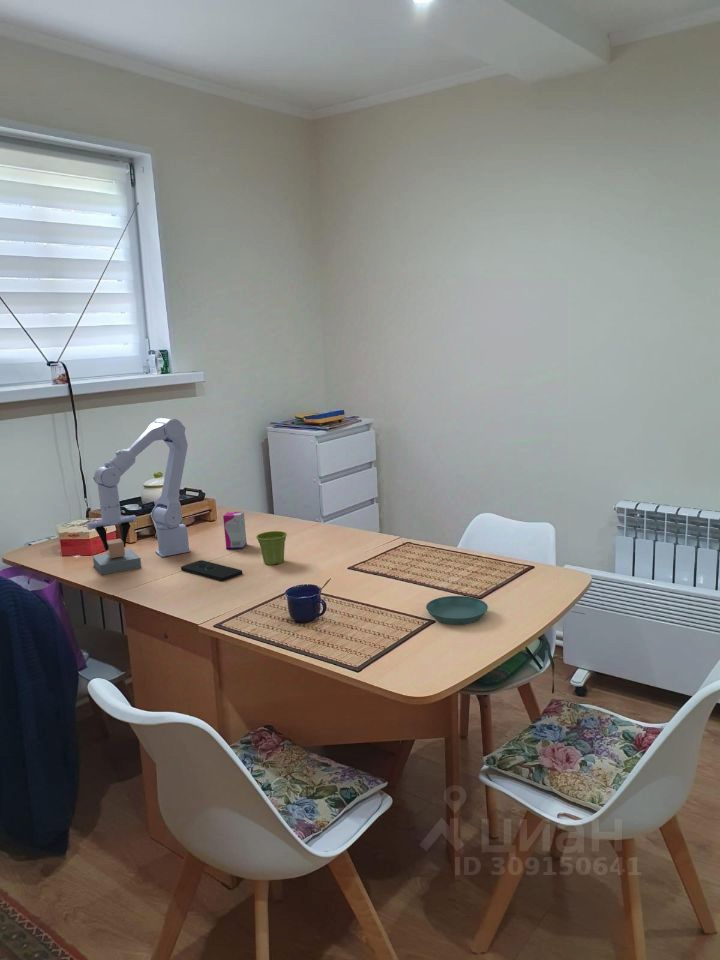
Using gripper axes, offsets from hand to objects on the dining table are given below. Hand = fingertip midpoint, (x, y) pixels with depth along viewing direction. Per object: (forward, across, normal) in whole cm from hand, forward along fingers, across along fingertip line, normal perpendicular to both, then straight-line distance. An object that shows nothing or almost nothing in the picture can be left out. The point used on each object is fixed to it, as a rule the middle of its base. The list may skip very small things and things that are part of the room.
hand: (115, 548), depth 236 cm
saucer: (+6, +59, -97) cm, 114 cm away
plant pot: (+6, +41, -28) cm, 50 cm away
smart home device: (+7, +22, -25) cm, 34 cm away
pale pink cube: (+2, 0, 0) cm, 2 cm away
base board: (+6, 0, 0) cm, 6 cm away
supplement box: (+6, +38, -4) cm, 39 cm away
